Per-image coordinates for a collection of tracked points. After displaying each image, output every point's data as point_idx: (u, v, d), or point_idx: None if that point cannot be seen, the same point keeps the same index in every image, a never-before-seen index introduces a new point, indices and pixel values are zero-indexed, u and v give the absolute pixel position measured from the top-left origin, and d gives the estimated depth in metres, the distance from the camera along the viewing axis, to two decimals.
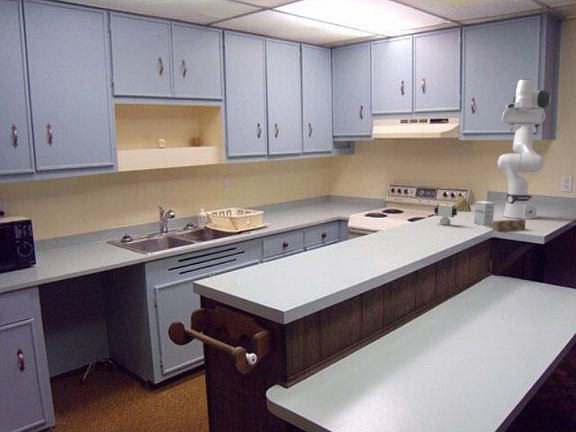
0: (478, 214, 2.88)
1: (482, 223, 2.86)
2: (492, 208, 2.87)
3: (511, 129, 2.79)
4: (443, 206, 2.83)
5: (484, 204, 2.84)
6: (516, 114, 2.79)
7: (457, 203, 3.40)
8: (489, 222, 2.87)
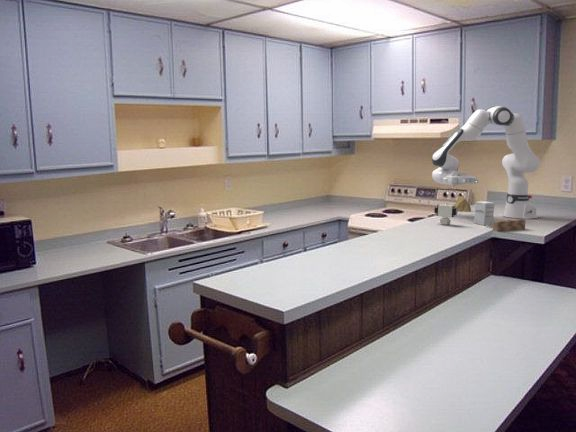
0: (478, 214, 2.88)
1: (482, 223, 2.86)
2: (492, 208, 2.87)
3: (476, 182, 3.00)
4: (443, 206, 2.83)
5: (484, 204, 2.84)
6: None
7: (457, 203, 3.40)
8: (489, 222, 2.87)
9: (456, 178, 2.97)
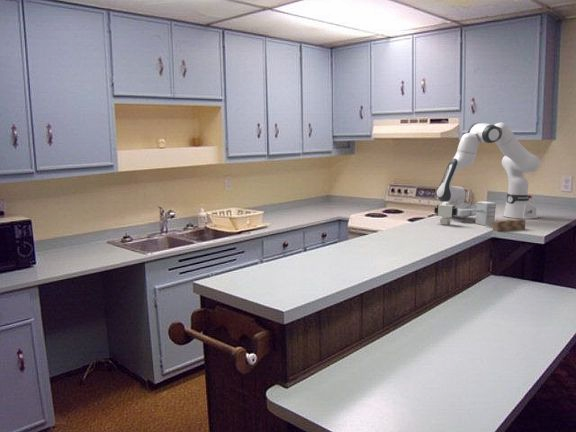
0: (480, 214, 2.87)
1: (483, 223, 2.85)
2: (494, 208, 2.85)
3: None
4: (443, 206, 2.83)
5: (485, 204, 2.83)
6: None
7: None
8: (490, 222, 2.86)
9: (464, 211, 2.93)
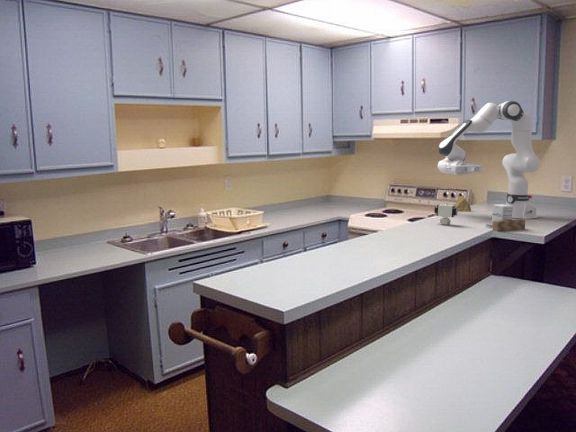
0: (496, 218, 2.76)
1: None
2: (510, 212, 2.74)
3: (475, 170, 2.97)
4: (443, 206, 2.83)
5: (501, 207, 2.72)
6: None
7: (457, 203, 3.40)
8: None
9: (459, 167, 2.97)
